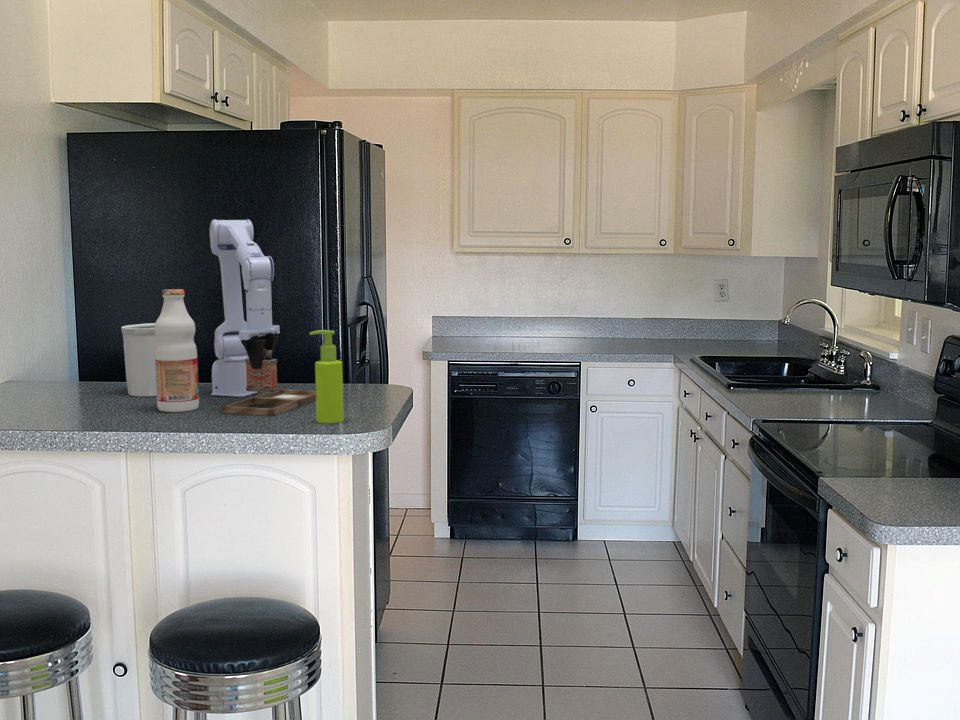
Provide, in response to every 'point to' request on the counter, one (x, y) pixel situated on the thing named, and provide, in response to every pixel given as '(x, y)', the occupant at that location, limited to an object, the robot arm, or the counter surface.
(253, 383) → the lighter
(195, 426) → the counter surface
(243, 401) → the tray
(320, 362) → the soap dispenser
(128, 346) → the utensil holder
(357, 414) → the counter surface
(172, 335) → the fruit juice
